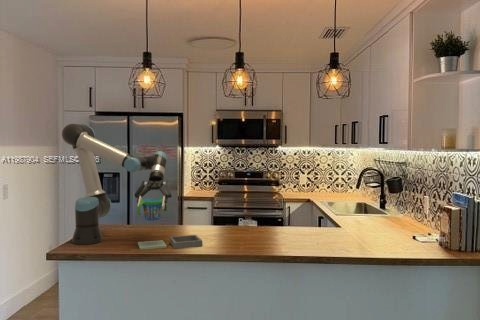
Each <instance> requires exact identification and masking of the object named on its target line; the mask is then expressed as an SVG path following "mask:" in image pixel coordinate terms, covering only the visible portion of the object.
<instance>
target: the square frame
mask: <svg viewBox="0 0 480 320" xmlns="http://www.w3.org/2000/svg"><path fill="white" fill-rule="evenodd" d="M169 243H170V245H171V246H172V248H173V249H175V250H177V249H189V248H199V247H203V240H202V239H201V238H200V237H199V236H198V235H197V234H192V235H191V234H188V235H177V236H169Z"/></svg>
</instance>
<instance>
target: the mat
mask: <svg viewBox="0 0 480 320" xmlns="http://www.w3.org/2000/svg"><path fill="white" fill-rule="evenodd" d="M137 245H138V247H139V248H138V249H139V250H140V251H143V250H153V249H154V250H155V249H167V244H166V243H165V241H164V239H160V240H148V241H137Z"/></svg>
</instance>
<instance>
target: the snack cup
mask: <svg viewBox="0 0 480 320" xmlns="http://www.w3.org/2000/svg"><path fill="white" fill-rule="evenodd" d="M162 202H163V198H146V199H145V198H144V199H142V202H141V203H140V204H139V205H138V204H137V214H138V216H141V207H142V208H143V214H144V219H145V221H149V222H150V221H152V222H153V221H157V220H160V219H161V216H162V215H161V214H162V209H163V208H162ZM140 206H141V207H140ZM163 211H164V212H167V211H168V205H167V203H165V207H164V209H163Z"/></svg>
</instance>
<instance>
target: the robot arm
mask: <svg viewBox="0 0 480 320" xmlns="http://www.w3.org/2000/svg"><path fill="white" fill-rule="evenodd" d="M61 137H62V140H63V141H64V143H66V144H68V145H70V146H71V147H72V150H73V151H74V152H76V154H77V155H76V156H77V160H78V163H79V167H80V172H81V175H82V180H83V183H84V188H85V195H84V197H80V198H77V199H76V200H75V203H74V204H75V205H74V214H75V216H74V217H75V230H74V231H73V236H72V239H71V240H72V241H71V242H72V244H74V245H79V246H80V245H81V246H82V245H84V246H85V245H94V244H98V243H101V242H102V241H103V234H102V232H101V229H100V225H99V219H101V218H103V217H106V216H107V215H108V214H109V213H110V211H111V209H112V201H111V199H110V198H109V197H108V196H107V193H106V191H105V190H104V189H102V184H101V179H100V175H99V171H98V167H97V163H96V158H95V155H96V156H99V157H101V158H104V160H107V161H110V162H112V163H114V164H116V165H118V166H120V167H122V168H124V169H125V170H126V171H127V172H129V173H135V172H139V171H146V170H148V171H149V170H150V172H149V176H148V177H149V179H148V181H145V180H142V182H141V184H140V186H139V187H138V189H137V190H136V191H135V192H134V197H135V199H136V203H137V206H138V205H139V204H140V203H141V202H142V200H143V197H145V195H146V194H147V193H148V192H150V191H153V190H159V191H160V192H161V193H162V195H163V197H162V200H163V202H162V206H161V207H162V208H161V209H162V210H164V207H165V203H166V204H167V203H168V201H169V199H168V198H173V196H172V193H171V189H170V186H169V185H170V184H169V180H166V181H164V178H165V177H164V176H165V172H166V167H167V166H166V165H167V161H168V156H167V154H166V152H164V151H161V150H158V151H155V152H154V153H153V155H149V156H134V155H131V154H129V153H127V152H125V151H123V150H121V149H118V148H117V147H114V146H112V145H110V144H108V143H106V142H104V141H102V140H100V139H97V138H96V133H95V130H94V129H93V128H92V127H91V126H89V125H87V124H84V123H83V124H82V123H81V124H80V123H79V124H78V123H69V124H66V125H65V126H64V127H63V128H62V131H61ZM163 186H164V187H165V188H166V191H167V192H166V191H165V190H164V188H163ZM141 207H142V205H141V206H140V208H141Z"/></svg>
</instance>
